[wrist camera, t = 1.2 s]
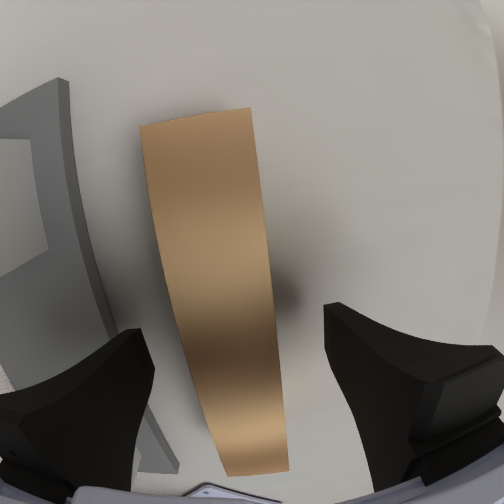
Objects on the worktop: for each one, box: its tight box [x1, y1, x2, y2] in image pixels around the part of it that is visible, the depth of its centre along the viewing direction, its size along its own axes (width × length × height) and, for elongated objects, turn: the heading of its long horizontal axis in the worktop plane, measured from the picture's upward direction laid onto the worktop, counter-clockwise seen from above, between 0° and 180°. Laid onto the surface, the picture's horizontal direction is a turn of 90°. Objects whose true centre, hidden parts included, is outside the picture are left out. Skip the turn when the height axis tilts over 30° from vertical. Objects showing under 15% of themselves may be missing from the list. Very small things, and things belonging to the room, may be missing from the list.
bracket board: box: [0, 77, 179, 492], centre depth 11 cm, size 24×10×5 cm, turn 8°
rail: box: [140, 108, 289, 477], centre depth 12 cm, size 16×3×4 cm, turn 7°
